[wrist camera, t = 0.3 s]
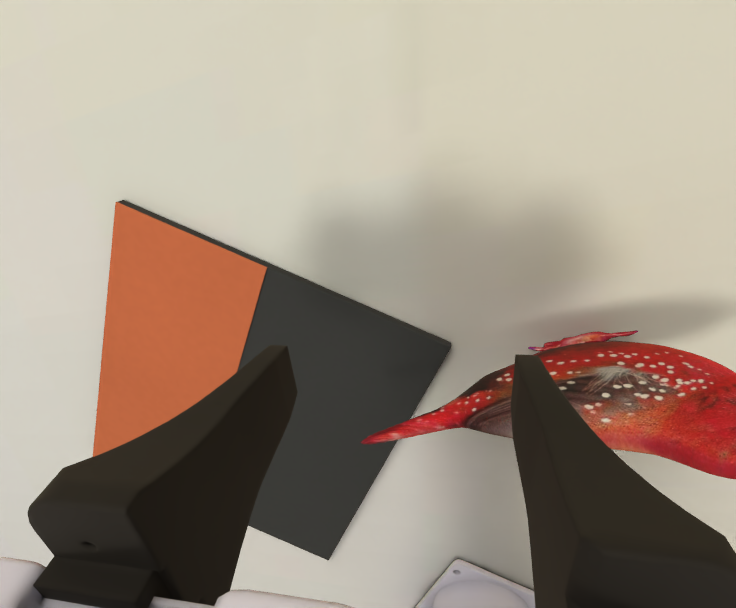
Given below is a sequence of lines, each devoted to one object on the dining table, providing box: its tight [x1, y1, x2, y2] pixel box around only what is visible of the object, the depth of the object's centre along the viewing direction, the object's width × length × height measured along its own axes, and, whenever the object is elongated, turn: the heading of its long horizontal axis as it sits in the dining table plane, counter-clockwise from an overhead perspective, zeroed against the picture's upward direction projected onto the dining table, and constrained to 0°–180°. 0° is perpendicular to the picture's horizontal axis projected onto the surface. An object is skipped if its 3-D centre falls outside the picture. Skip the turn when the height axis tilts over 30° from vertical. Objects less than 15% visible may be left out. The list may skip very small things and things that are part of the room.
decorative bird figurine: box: [360, 331, 736, 479], centre depth 20 cm, size 3×18×10 cm, turn 109°
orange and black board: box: [93, 200, 451, 560], centre depth 31 cm, size 20×22×1 cm
